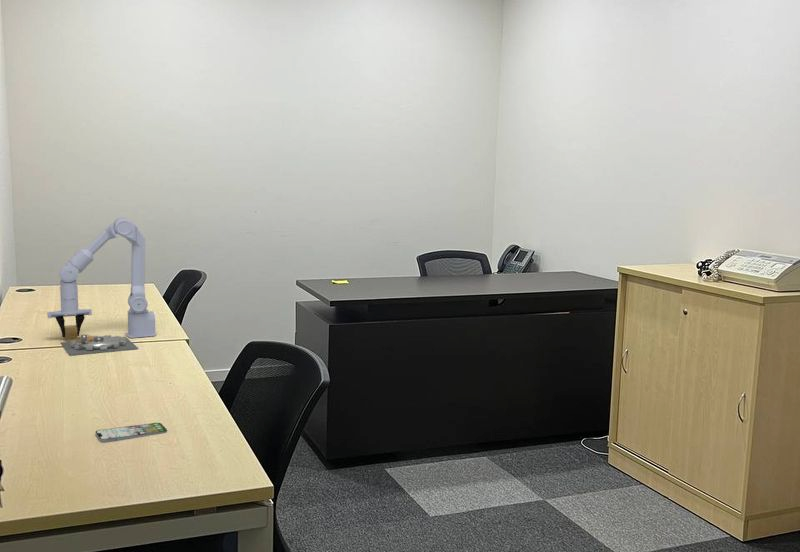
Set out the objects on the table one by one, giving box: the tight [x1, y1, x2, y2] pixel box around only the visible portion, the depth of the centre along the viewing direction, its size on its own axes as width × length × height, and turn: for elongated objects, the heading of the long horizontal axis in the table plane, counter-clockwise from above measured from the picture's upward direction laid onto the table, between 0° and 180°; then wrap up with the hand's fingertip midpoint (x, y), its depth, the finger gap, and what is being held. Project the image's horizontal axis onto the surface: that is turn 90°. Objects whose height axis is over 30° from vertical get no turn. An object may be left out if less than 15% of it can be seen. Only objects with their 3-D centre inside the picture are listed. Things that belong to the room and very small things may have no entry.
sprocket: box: [70, 334, 127, 350], centre depth 266 cm, size 18×18×4 cm
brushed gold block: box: [63, 324, 79, 342], centre depth 275 cm, size 4×4×5 cm
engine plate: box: [60, 336, 139, 357], centre depth 267 cm, size 22×21×1 cm
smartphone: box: [95, 422, 168, 444], centre depth 179 cm, size 7×1×15 cm
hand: (70, 336), depth 276 cm, fingers closed on brushed gold block, 4 cm apart
